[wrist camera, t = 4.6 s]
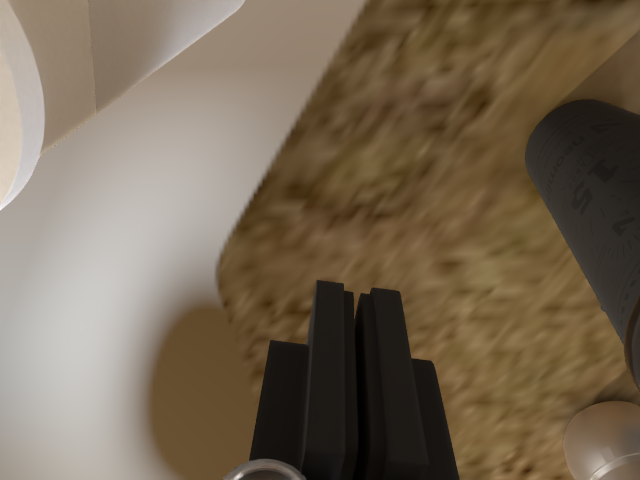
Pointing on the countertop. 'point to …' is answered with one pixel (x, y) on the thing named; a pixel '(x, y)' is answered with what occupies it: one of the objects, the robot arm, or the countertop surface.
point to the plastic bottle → (604, 442)
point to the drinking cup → (596, 203)
